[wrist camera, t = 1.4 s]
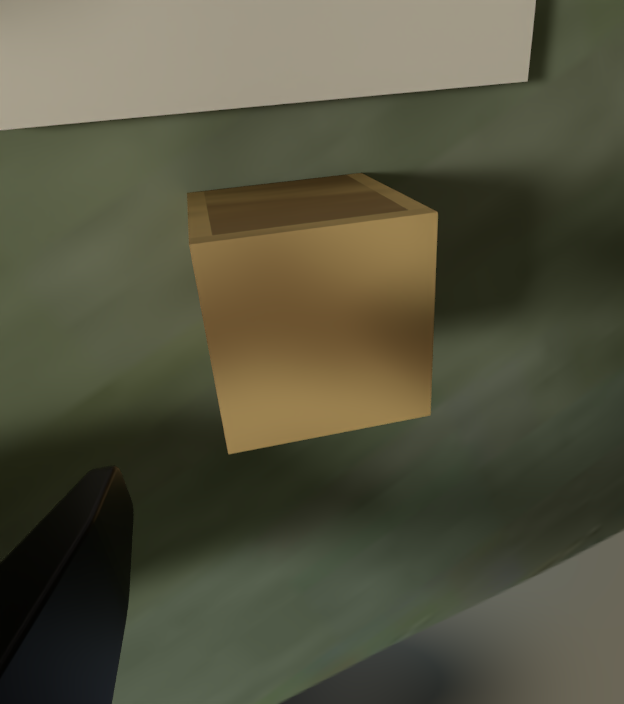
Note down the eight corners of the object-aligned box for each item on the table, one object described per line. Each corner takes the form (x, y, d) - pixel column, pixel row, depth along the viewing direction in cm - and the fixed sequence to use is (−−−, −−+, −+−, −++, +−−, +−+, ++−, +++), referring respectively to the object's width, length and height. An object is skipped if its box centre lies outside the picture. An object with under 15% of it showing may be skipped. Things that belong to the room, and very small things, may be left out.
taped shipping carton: (365, 328, 23) (430, 415, 17) (215, 352, 22) (228, 454, 16) (361, 172, 20) (438, 212, 14) (187, 193, 19) (188, 244, 13)
